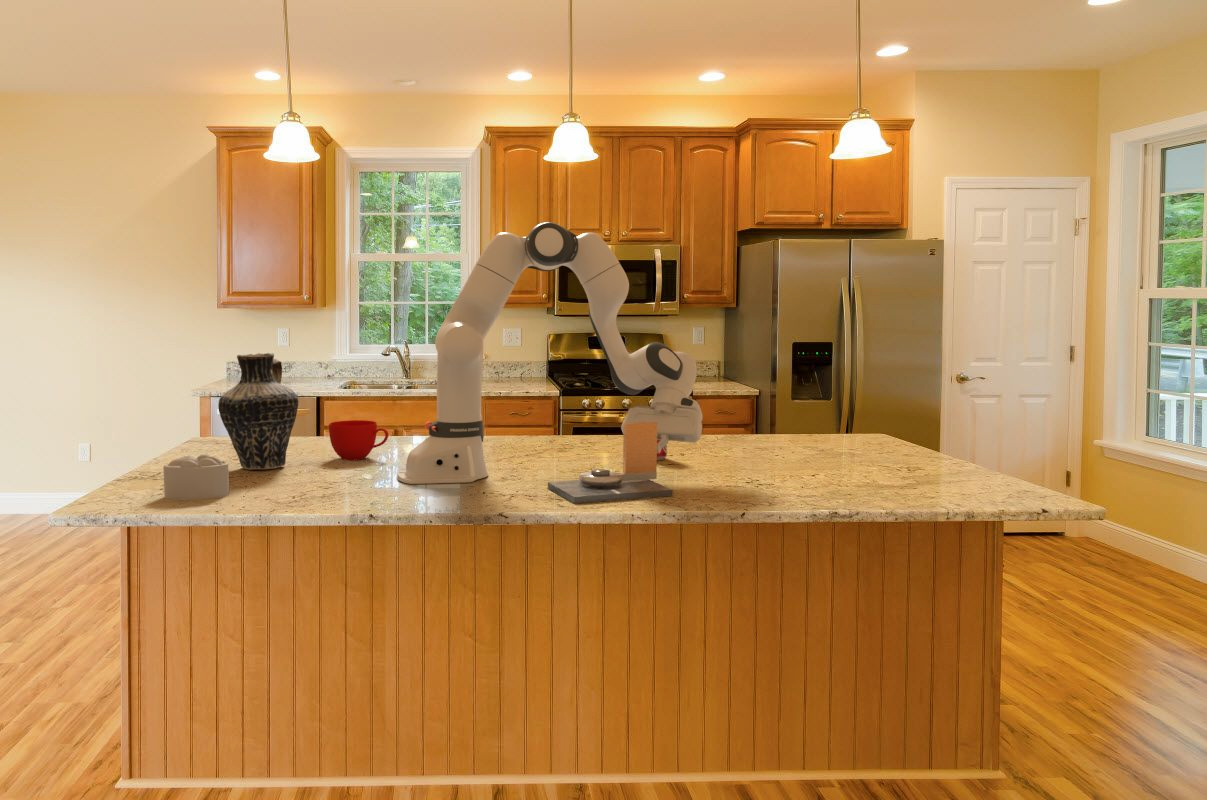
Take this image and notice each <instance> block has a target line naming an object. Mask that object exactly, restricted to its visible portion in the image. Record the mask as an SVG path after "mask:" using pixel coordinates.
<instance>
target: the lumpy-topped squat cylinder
mask: <svg viewBox="0 0 1207 800" xmlns="http://www.w3.org/2000/svg"><path fill="white" fill-rule="evenodd" d="M229 472H230V471H229V463H228V462H227V461H225V460H221V459H220V458H218V457H216V456H211V455H209V454H200V455H199V456H197V458H196V457H194V456H189V455H188V456H187V455H186V456H181V457H178V458H175V459H172V460H171V461H170V462H169V463H168V464H165V465H163V488H164V489H163V490H164V492H163V493H164V499H167V500H173V501H174V500H178V501H179V500H180V501H194V500H195V501H196V500H197V501H200V500H201V501H202V500H210V499H211V500H212V499H219V498H224V497H229V495H230V479H229V478H230V477H229V475H230V473H229Z"/></svg>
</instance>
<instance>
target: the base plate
mask: <svg viewBox="0 0 1207 800" xmlns="http://www.w3.org/2000/svg"><path fill="white" fill-rule="evenodd" d="M547 489H548V490H549V491H552V492H553V493H555V494H556V495H558V496H560V497H562V498H563V499H566V500H567V501H569V502H571V504H574V505H575V504H586V503H588V504H590V503H603V502H613V501H614V502H615V501H624V500H625V501H627V500H628V501H629V500H640V499H652V498H665V497H667V498H668V497H673V495H674V489H673V488H669V487H668V486H666V485H663V484H661V483H659V482H655V481H653V480H652V479H648V480H631V481H622V482H621V483H620V484H617V485H609V486H593V485H586V484H582V483H580V482H579V479H576V480H575V479H573V480H560V481H548V482H547Z"/></svg>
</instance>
